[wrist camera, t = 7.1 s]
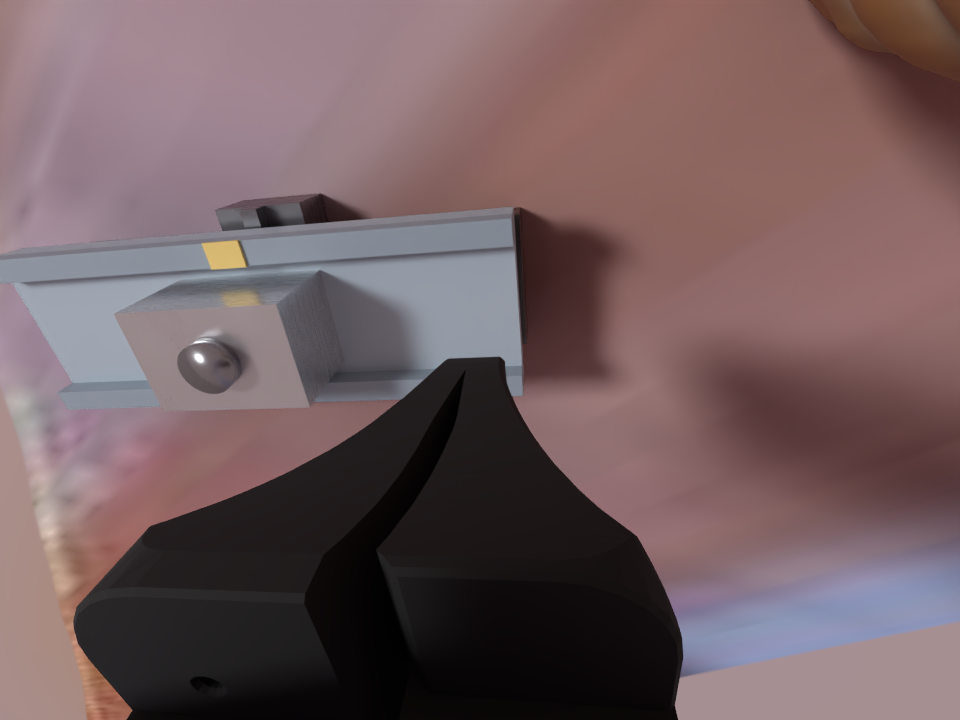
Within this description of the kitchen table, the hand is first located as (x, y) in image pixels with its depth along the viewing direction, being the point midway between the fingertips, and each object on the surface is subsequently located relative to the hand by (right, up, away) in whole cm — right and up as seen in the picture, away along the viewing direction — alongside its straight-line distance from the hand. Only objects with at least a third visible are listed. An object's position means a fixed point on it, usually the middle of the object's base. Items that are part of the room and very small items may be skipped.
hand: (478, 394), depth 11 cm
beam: (-7, +3, +7) cm, 10 cm away
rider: (-7, +2, +6) cm, 10 cm away
